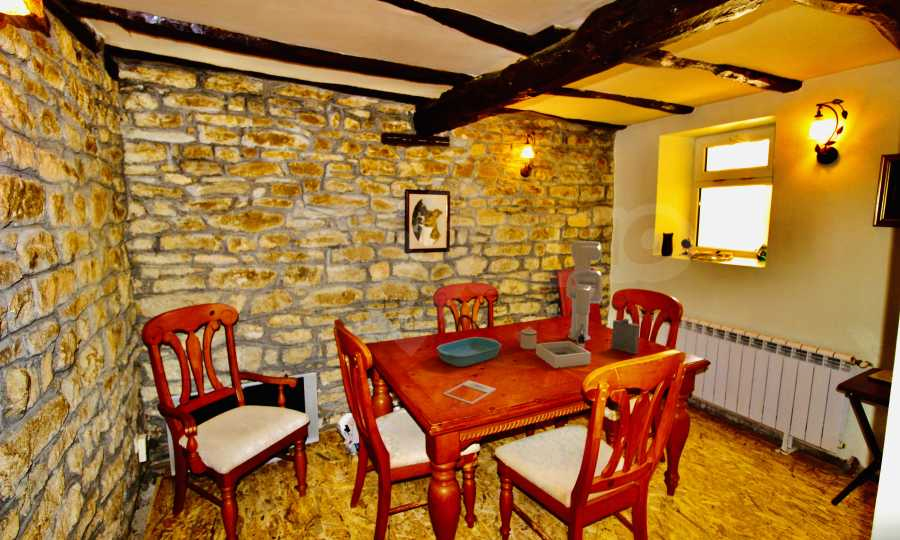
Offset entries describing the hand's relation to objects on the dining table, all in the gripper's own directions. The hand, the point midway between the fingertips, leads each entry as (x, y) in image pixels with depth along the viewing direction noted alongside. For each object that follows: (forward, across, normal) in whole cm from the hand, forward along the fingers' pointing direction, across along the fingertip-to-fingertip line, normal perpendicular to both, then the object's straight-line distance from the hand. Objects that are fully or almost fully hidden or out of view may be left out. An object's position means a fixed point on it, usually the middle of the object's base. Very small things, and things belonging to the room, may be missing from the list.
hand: (580, 340), depth 238 cm
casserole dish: (+7, +26, -57) cm, 63 cm away
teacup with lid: (+6, 0, -30) cm, 30 cm away
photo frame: (+8, +68, -48) cm, 83 cm away
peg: (+6, -1, 0) cm, 6 cm away
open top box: (+6, +16, -10) cm, 20 cm away
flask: (+6, -6, +23) cm, 25 cm away
